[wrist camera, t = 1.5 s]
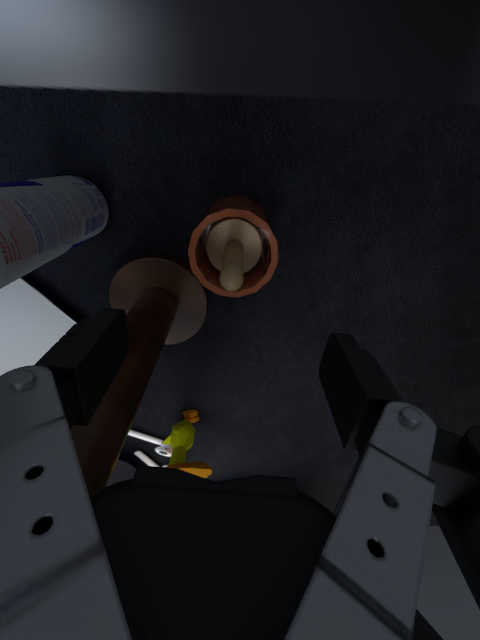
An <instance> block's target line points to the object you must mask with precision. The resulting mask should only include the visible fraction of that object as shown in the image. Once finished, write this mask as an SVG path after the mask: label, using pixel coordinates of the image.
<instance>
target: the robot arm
mask: <svg viewBox="0 0 480 640" xmlns="http://www.w3.org/2000/svg"><path fill="white" fill-rule="evenodd" d="M127 353H128V332H127V320H126V312H125V310H123V309H115V308H106V307H103V308H101V309H100V310H99V311H98V312H97V314H96V315H95V316H94V317H93V318H92V319H85V320H83V321H81V322H79V323H77V324H75V325H73V326H72V327H71V329H70V330H68V332H66V335H64V336H63V337H62V338H61V339H60V340H59V342H57V343H56V344H55V345H54V346H53V347H52V348H51V349H50V350H49V351H48V352H47V353H46V354H45V355H44V356H43V357H42V358H41V359H40V360H39V361H38V362H37V363H36V364H35V365H34V366H24V367H20V368H17V369H14V370H11V371H9V372H7V373H5V374H3V375H1V376H0V640H443V639H442V638H441V636H440V635H439V634H438V633H437V632H436V631H435V630H434V628H433V627H432V626H431V625H430V624H429V623H428V621H427V620H426V619H425V618H424V617H423V616H422V615H421V613H420V612H419V611H418V610H417V609H416V605H417V599H418V593H419V587H420V581H421V574H422V567H423V561H424V555H425V548H426V543H427V536H428V530H429V524H430V517H431V511H432V512H433V514H434V516H435V518H436V520H437V522H438V524H439V526H440V528H441V530H442V532H443V535H444V537H445V539H446V541H447V543H448V545H449V547H450V549H451V551H452V553H453V555H454V557H455V559H456V562H457V564H458V566H459V568H460V570H461V572H462V574H463V576H464V578H465V580H466V582H467V584H468V587H469V589H470V591H471V593H472V595H473V597H474V599H475V601H476V603H477V605H478V607H479V609H480V426H474V427H470V428H469V429H468V430H467V432H466V433H465V434H464V436H460V435H457V434H454V433H451V432H448V431H445V430H442V429H439V428H436V425H435V423H434V422H433V420H432V419H431V418H430V417H429V416H428V415H427V414H426V413H425V412H424V411H422V410H421V409H419V408H418V407H416V406H414V405H412V404H409V403H407V402H403V400H402V399H401V397H400V396H399V394H398V393H397V391H396V390H395V388H394V387H393V385H392V384H391V382H390V381H389V379H388V377H387V376H385V373H384V371H383V370H382V368H380V365H379V364H378V362H377V361H376V359H375V358H374V357H373V356H372V355H371V354H370V353H369V352H367V351H366V350H365V349H363V348H360V347H359V345H358V344H357V342H356V340H355V339H354V337H353V336H352V335H348V334H339V333H331V334H330V336H329V338H328V341H327V344H326V347H325V351H324V354H323V357H322V360H321V363H320V367H319V377H320V381H321V384H322V387H323V390H324V393H325V395H326V398H327V401H328V404H329V407H330V410H331V413H332V416H333V419H334V422H335V424H336V427H337V430H338V433H339V436H340V439H341V442H342V445H343V448H344V450H354V451H358V454H359V458H358V460H357V462H356V464H355V466H354V469H353V471H352V473H351V475H350V477H349V480H348V482H347V484H346V486H345V488H344V490H343V493H342V495H341V497H340V499H339V501H338V503H337V505H336V508H335V510H334V512H333V513H332V512H330V511H329V510H328V509H327V508H326V507H324V506H323V505H322V504H320V503H319V502H317V501H316V500H314V499H313V498H311V497H309V496H307V495H305V494H303V493H300V492H297V486H296V479H295V478H288V477H276V476H263V475H255V476H249V477H244V478H238V479H233V480H227V481H222V482H215V481H211V480H209V479H206V478H203V477H200V476H197V475H194V474H191V473H189V472H186V471H183V470H180V469H177V468H164V467H152V466H140V465H138V466H137V469H136V472H135V475H134V479H129V480H125V481H121V482H118V483H115V484H113V485H110V486H108V487H106V488H104V489H102V490H100V491H98V492H96V493H95V494H93V495H92V496H90V497H89V494H88V491H87V488H86V484H85V481H84V477H83V474H82V471H81V467H80V464H79V460H78V457H77V453H76V450H75V447H74V443H73V440H72V436H71V433H70V430H71V428H72V426H73V425H78V426H87V425H88V424H89V422H90V420H91V418H92V417H93V415H94V413H95V411H96V410H97V408H98V406H99V404H100V403H101V401H102V399H103V397H104V396H105V394H106V392H107V390H108V389H109V387H110V385H111V383H112V382H113V380H114V378H115V376H116V375H117V373H118V371H119V369H120V368H121V366H122V364H123V362H124V361H125V359H126V356H127Z"/></svg>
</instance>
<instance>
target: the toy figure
mask: <svg viewBox="0 0 480 640" xmlns="http://www.w3.org/2000/svg"><path fill="white" fill-rule="evenodd" d="M183 414H184V420H182V421H180V422H178V423H177V424H176V425H174V426H173V430H172V433H171V434H170V435H169V436H168V437H167V438H166V439H165V440H164V441H163V442H162V443H161V444H171V446H172V448H173V453H172V455H171V458H170V461H169V464H168V466H167V467H165V468H177V469H180V470H183V471H186V472H189V473H191V474H194V475H197V476H200V477H203V478H206V477H208V476H209V475H211V474H212V468H211V467H210V466H208V465H207V464H206V463H205V462H186V463H185V455H186V451H187V450H188V449H190V448H191V447H192V445H193V441H194V435H195V429H194V427H193V426H192V424H191V423H195V422H196V421H198V420H199V416H198V415H197V414H198V411H197V410H193V409H192V410H187V411H184V412H183ZM190 422H191V423H190Z"/></svg>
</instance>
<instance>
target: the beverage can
mask: <svg viewBox="0 0 480 640" xmlns="http://www.w3.org/2000/svg"><path fill="white" fill-rule="evenodd" d="M108 215H109V214H108V206H107V203H106V200H105V198H104V196H103V195H102V193H101V192H100V190H99V189H98V188H97V187H96V186H95V185H94V184H92V183H91V182H90V181H88V180H86V179H84V178H82V177H79V176H72V175H65V176H57V177H49V178H41V179H33V180H25V181H17V182H9V183H1V184H0V289H1V288H2V287H4V286H6V285H8V284H10V283H11V282H13V281H15V280H17V279H19V278H20V277H22V276H24V275H26V274H27V273H29V272H31V271H33V270H35V269H36V268H38V267H40V266H42V265H43V264H45V263H47V262H49V261H51V260H52V259H54V258H56V257H58V256H59V255H61V254H63V253H65V252H67V251H68V250H70V249H72V248H74V247H75V246H77V245H79V244H81V243H83V242H84V241H86V240H88V239H90V238H92V237H93V236H95V235H97V234H98V233H100V232H101V231H102V230H103V229H104V227H105V226H106V224H107V221H108Z"/></svg>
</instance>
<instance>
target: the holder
mask: <svg viewBox="0 0 480 640" xmlns="http://www.w3.org/2000/svg"><path fill="white" fill-rule="evenodd" d="M228 216H230V217H238V218H246V219H248V220H250V221H251V222H253V223H254V224H256V225H257V226H258V227H260V232H261V241H262V253H261V256H260V259H259V261H258V262H257V264H256V265H255V266H254V267H253V268H252V269H250V270H249V271H247V272H245V273H243V284H242V286H241V287H240V288H239V289H237V290H235V291H228V290H226V289H224V288H223V287H222V285H221V283H220V273H221V271H220V270H218V269H217V268H216V267H214V265H213V264H212V263H211V262H210V260H209V258H208V256H207V252H206V241H207V237H208V234H209V229H210V227H211V224H212V222H214V221H217V220H220V219H223V218H225V217H228ZM188 255H189V261H190V266H191V270H192V272H193V273H194V275H195V276H196V277H197V279H198V280H199V281H200V283H201V284H202V285H203V286H204V287H206V288H207V289H209V290H211V291H213V292H214V293H216V294H218V295H220V296H229V297H241V296H245V295H248V294H251V293H254V292H257V291H258V290H259V289H260V288H261V287H262V286H264V285H265V284H266V283H267V282H268V281H269V280H270V279H271V277H272V275H273V273H274V270H275V268H276V266H277V264H278V242H277V240H276V237H275V235H274V232H273V230H272V227H271V225H270V222H269V220H268V218H267V217H266V215H265V213H264V211H263V209H262V208H261V207H260V206H259V205H258V204H257V203H256V202H254V201H253V200H251V199H249V198H247V197H243V196H236V195H231V196H227V197H223V198H221V199H219V200H217V201H215V202H214V203H213V204H212V205H211V206H210V207H209V208H208V210H207V211H206V212H205V213H204V215H203V216H202V218H201V219H200V221H199V223H198V224H197V226H196V227H195V229H194V231H193V233H192V237H191V240H190V244H189V248H188Z"/></svg>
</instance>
